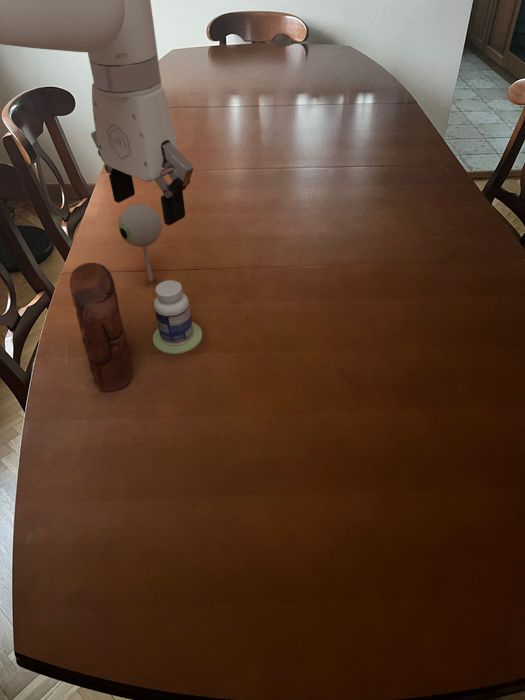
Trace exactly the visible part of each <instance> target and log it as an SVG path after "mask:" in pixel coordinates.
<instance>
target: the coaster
mask: <svg viewBox="0 0 525 700" xmlns="http://www.w3.org/2000/svg"><path fill="white" fill-rule="evenodd" d="M192 326H193V336H192V338H191V339H190V340H189V341H188V342H187V343H185V344H182V345H179V346H171V345H167V344H165V343H164V342H163V341H162V340H161V337H160V333H159V328H158V327H157V328H156V330H155V331H154V333H153V335H152V344H153V346H154V347H155V348H156V349H157V350H158V351H160V352H162V353H165V354H169V355H179V354H180V355H181V354H184V353H187V352H190V351H192V350H193V349H195V348H196V347H198V345H200V343H201V341H202V339H203V331H202V329H201V327H200V326H199V325H198V324H197V323H196V322H193V321H192Z"/></svg>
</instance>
